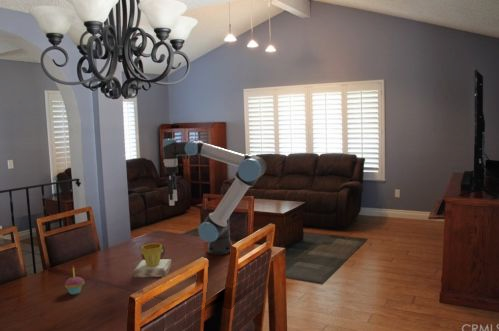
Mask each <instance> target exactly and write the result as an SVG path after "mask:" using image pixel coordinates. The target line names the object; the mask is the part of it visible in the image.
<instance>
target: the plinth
mask: <svg viewBox="0 0 499 331" xmlns="http://www.w3.org/2000/svg"><path fill="white" fill-rule="evenodd" d="M171 267H172V259H171V258H170V259H169V258H166V259H165V258H161V259H160V263H159V265H156V266H147V265H146V261H145V260H141V261H140V262H139V263H138V264H137V265H136V267H135V268H134V270H133V277H134V278H153V277H155V278H156V277H158V278H159V277H167V275H168V273H169V271H170V270H171Z"/></svg>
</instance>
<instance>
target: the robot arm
mask: <svg viewBox="0 0 499 331" xmlns="http://www.w3.org/2000/svg"><path fill="white" fill-rule="evenodd" d="M162 150H163V152H162V153H163V161H162V162H163V164H164V174H166V175H167V174H168V176H167V192H166V194H167V195H168V204H169V206H175V202H177V201H178V192H177V190H179V187H178V185H177V178H176V177H177V176H176V174H178V173H179V166H178V156H195V155H199V156H203V157H206V158H209V159H212V160H214V161H218V162H222V163H225V164H227V165H232V166H235V167H238V169H237V171H236V173H235V174H234V176H235V179H234V180H233V182H232V184H231V185H230V187H228V189H227V192H226V193H225V194H224V196H223V198H222V199H221V200H220V202H219V203H218V205H217V206H216V208H215V210H214V211H213V212H210V213H209V214H208V215H207V216H206V218H205V220H204V221H203V222H202V223H200V225H199V227H198V228H197V229H198V230H197V232H198V235H199V237H200V239H201V240H202V241H203V242H206V243H208V246H207V253H208V254H210V255H217V256H218V255H219V256H220V255H228V254H230V253H229V252H230V247H231V245H233V243H232V240H231V238H230V236H231V231H230V216H231V215H232V213H233V212H234V210H235V209H236V207H237V206H238V204H239V203H240V201H242V199H243V197H244V196H245V194H246V193H247V191H248V189H249V188H252V187H254V186H255V184H256V182H257V181H258V180H259V178H260V177H262V176H263V175H264V174H265V173H266V170H267V163H266V161H265V159H263V158H262V157H260V156H259V155H253V154H248V153H246V154H243V153H239V152H236V151H233V150H229V149H225V148H223V147H221V146H216V145H213V144H210V143H206V142H203V141H202V140H199V139H194V140H189V141H188V140H187V141H177V139H176V138H165V139H162Z"/></svg>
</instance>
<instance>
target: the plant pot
mask: <svg viewBox="0 0 499 331" xmlns="http://www.w3.org/2000/svg"><path fill="white" fill-rule="evenodd" d="M161 252H162V244H161V243H148V244H145V245H142V246H141V255H142V254H143V255H144V258H145V261H146V265H147V266H156V265H159V263H160V256H161Z"/></svg>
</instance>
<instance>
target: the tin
mask: <svg viewBox="0 0 499 331" xmlns="http://www.w3.org/2000/svg"><path fill="white" fill-rule="evenodd" d="M161 245H162V244H161ZM165 251H166V249H165V247H164V245H162V252H161V256H160V259H163V257H164V255H165ZM141 259H142V260H145V258H144V255H143V254H142V253H141Z"/></svg>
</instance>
